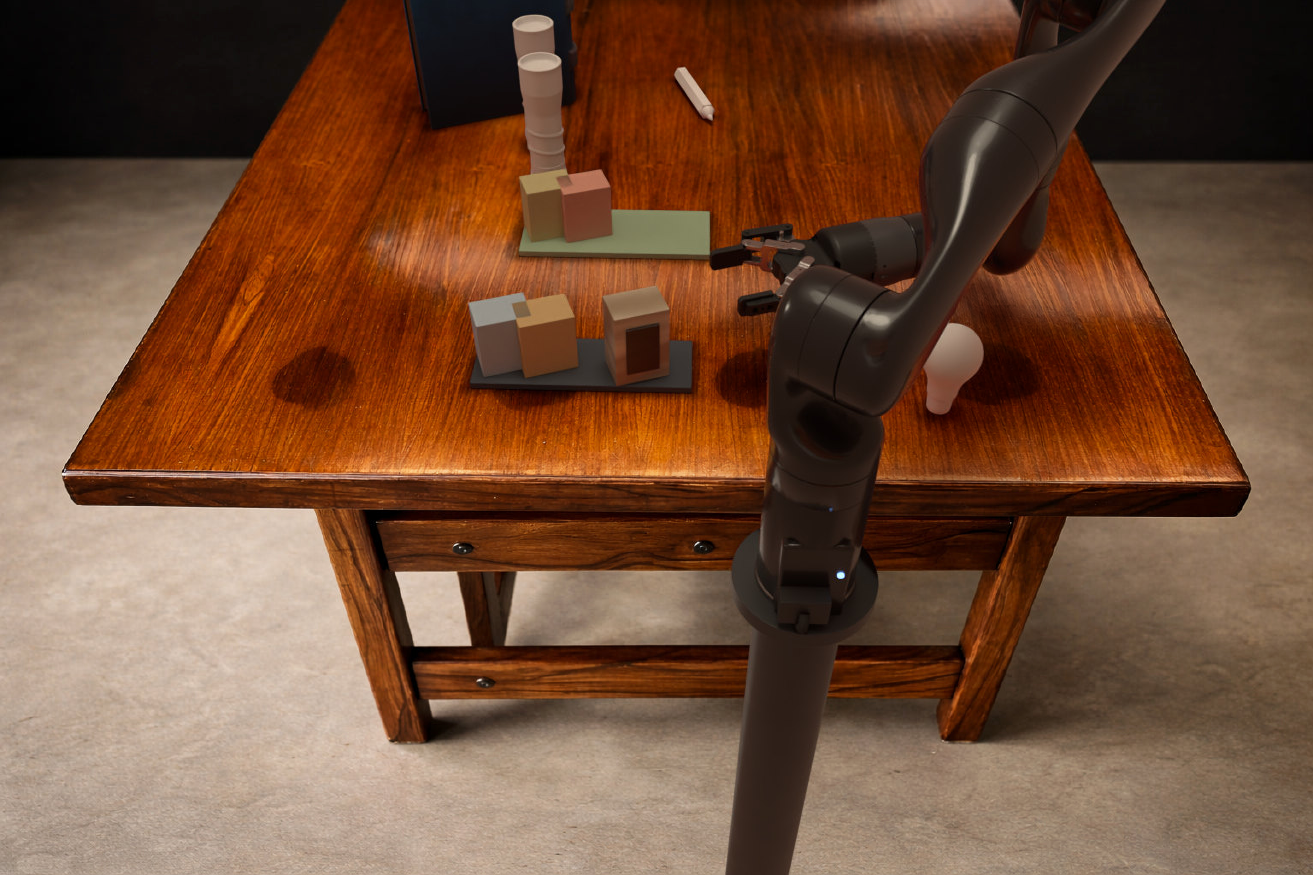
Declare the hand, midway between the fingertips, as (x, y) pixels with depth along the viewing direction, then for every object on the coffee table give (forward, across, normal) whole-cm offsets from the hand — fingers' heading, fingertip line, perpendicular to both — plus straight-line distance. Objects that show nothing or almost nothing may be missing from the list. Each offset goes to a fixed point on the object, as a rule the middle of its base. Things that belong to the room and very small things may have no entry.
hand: (724, 283), depth 108 cm
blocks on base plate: (+15, -3, +10) cm, 18 cm away
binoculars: (+9, -46, +10) cm, 48 cm away
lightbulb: (-19, +16, +10) cm, 26 cm away
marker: (-18, -58, +10) cm, 61 cm away
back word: (+4, -27, +10) cm, 29 cm away
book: (+11, -67, +10) cm, 69 cm away
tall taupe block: (+10, 0, +9) cm, 13 cm away
